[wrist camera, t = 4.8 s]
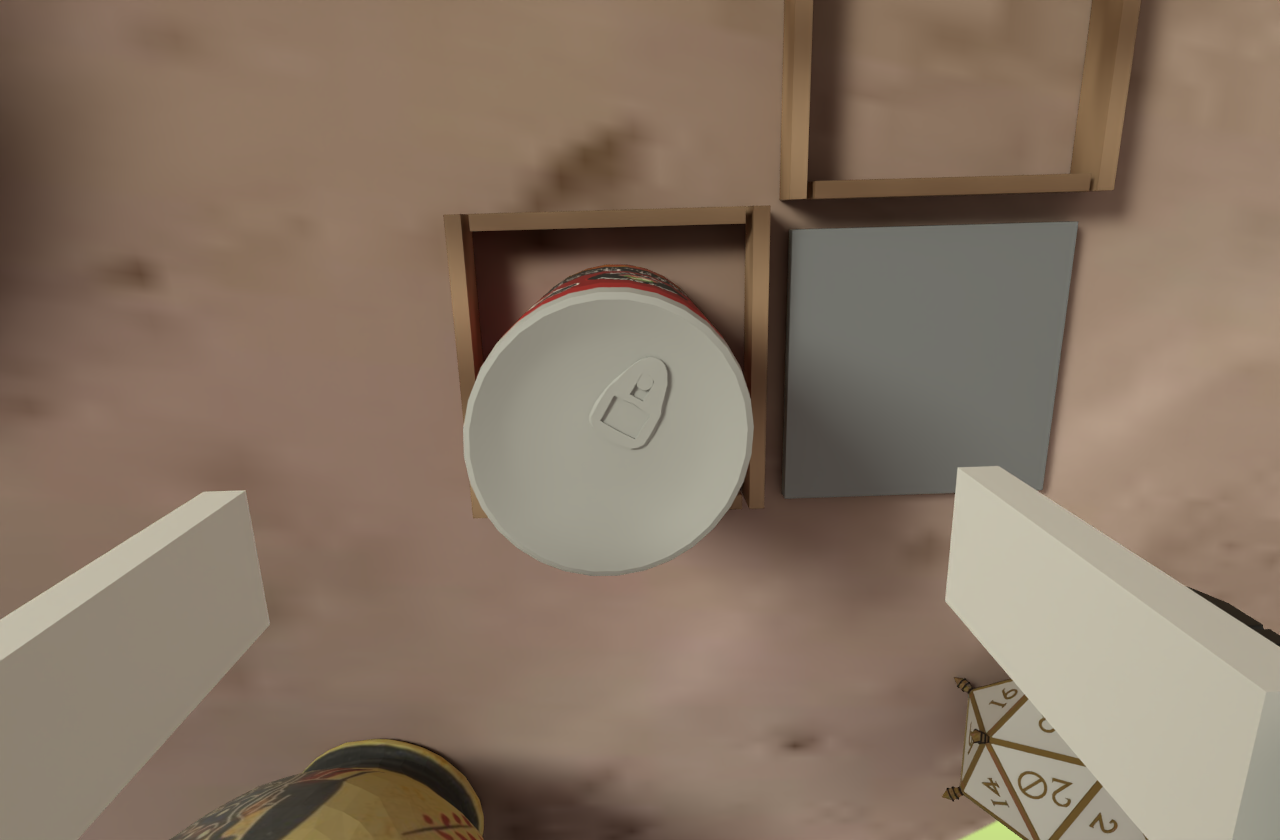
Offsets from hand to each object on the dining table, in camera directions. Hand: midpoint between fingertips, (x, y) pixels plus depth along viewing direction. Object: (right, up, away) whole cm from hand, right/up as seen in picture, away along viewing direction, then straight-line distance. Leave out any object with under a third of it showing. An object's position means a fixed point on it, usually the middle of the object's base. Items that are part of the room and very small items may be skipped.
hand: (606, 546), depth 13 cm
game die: (+18, -11, +21) cm, 30 cm away
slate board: (+12, +5, +16) cm, 21 cm away
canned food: (0, +5, +16) cm, 17 cm away
